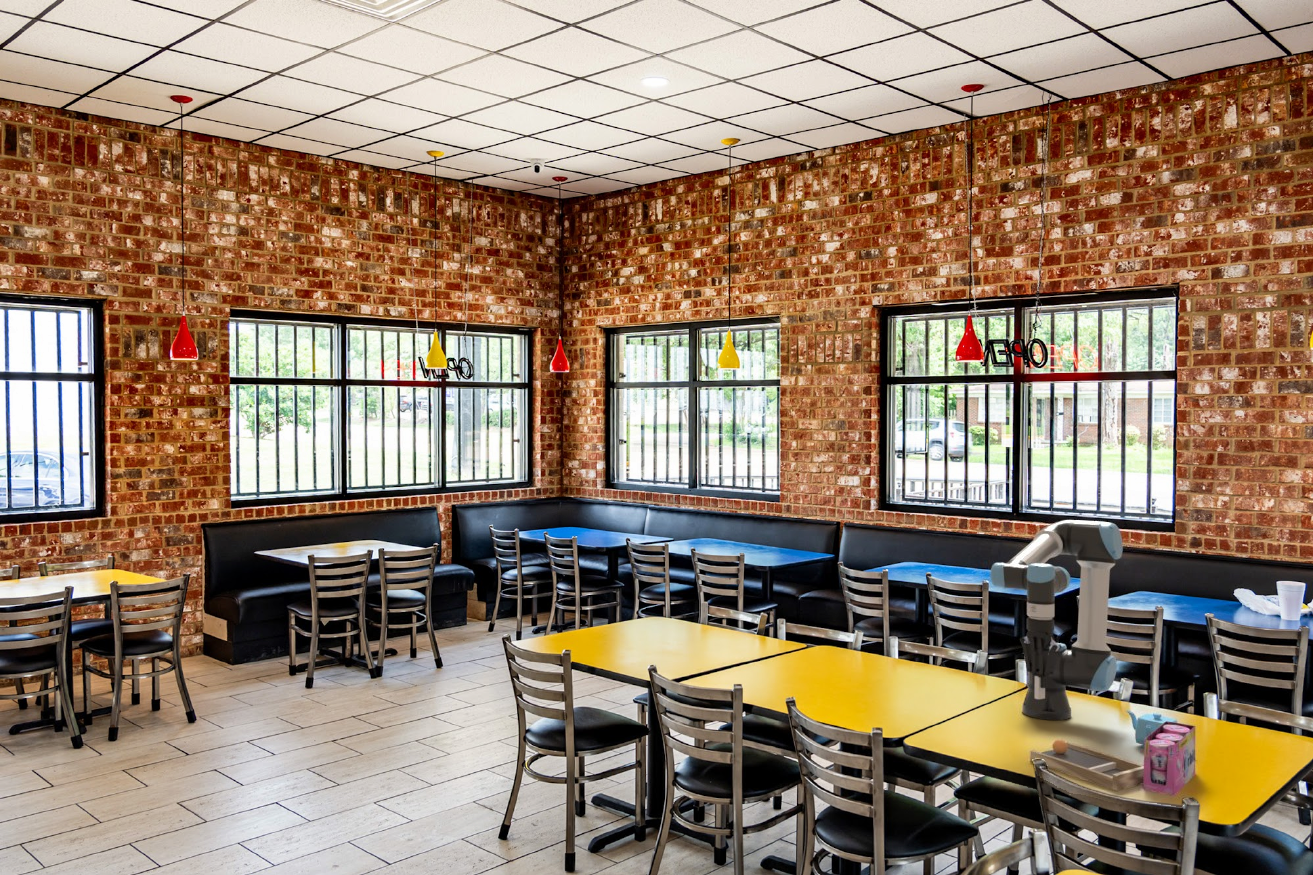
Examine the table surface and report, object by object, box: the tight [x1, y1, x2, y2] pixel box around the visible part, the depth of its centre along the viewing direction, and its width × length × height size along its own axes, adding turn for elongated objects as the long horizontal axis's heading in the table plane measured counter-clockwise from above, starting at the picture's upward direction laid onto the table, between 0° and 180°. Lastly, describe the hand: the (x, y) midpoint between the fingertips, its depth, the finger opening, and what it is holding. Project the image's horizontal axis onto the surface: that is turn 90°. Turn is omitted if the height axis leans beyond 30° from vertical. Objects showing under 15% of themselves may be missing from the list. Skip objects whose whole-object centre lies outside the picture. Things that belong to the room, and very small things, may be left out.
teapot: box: [1125, 710, 1178, 749], centre depth 302 cm, size 18×14×10 cm
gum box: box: [1142, 721, 1196, 797], centre depth 274 cm, size 24×8×14 cm, turn 140°
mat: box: [1040, 748, 1124, 776], centre depth 283 cm, size 14×26×2 cm, turn 31°
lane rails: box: [1029, 741, 1144, 792], centre depth 282 cm, size 16×27×4 cm, turn 31°
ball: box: [1052, 739, 1068, 754], centre depth 291 cm, size 4×4×4 cm
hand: (1039, 698), depth 297 cm, fingers closed
